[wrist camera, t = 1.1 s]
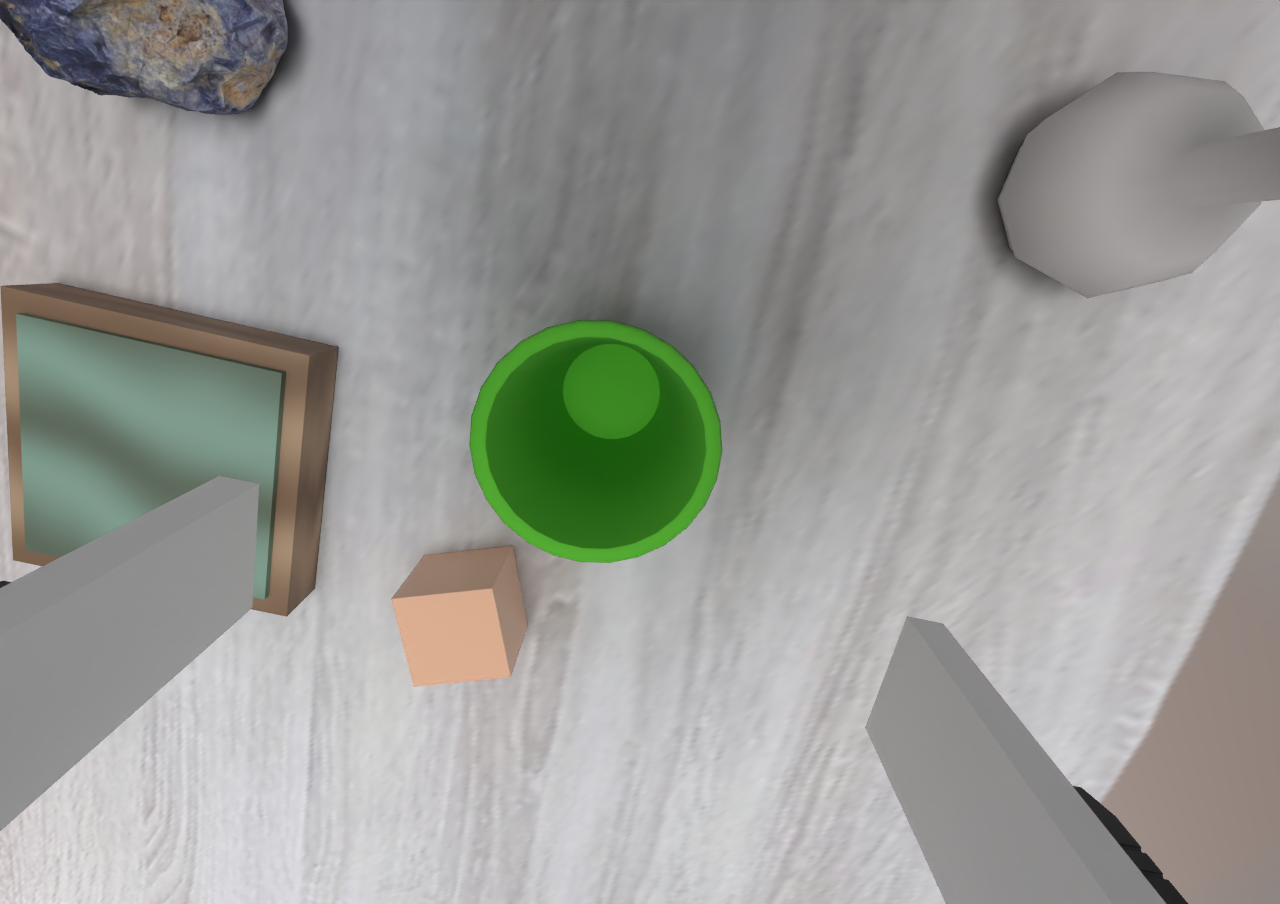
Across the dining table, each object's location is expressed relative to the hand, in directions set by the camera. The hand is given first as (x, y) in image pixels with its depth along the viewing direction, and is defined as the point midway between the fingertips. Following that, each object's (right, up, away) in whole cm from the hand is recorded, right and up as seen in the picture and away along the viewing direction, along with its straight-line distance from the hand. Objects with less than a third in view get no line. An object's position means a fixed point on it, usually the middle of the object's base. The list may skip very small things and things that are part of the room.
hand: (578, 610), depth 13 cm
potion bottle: (+21, +15, +18) cm, 32 cm away
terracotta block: (-8, -5, +24) cm, 26 cm away
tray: (-22, +3, +22) cm, 32 cm away
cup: (0, +6, +21) cm, 22 cm away
